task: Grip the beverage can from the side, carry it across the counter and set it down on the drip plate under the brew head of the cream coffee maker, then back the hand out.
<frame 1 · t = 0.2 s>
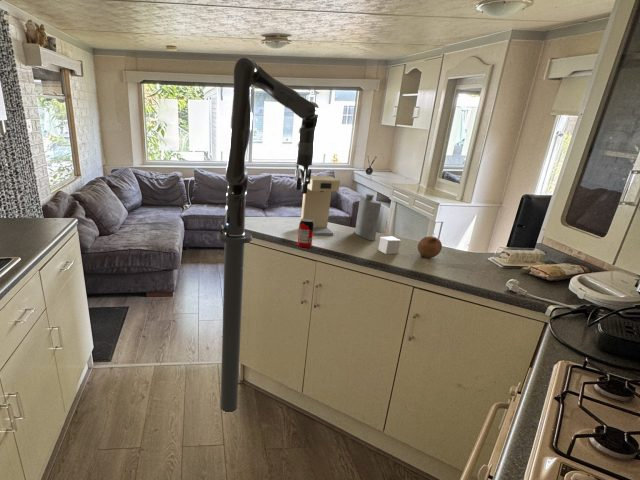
hand: (301, 191, 190), 22 cm above the worktop, tool pointing down, fingers open, 8 cm apart
hip flask: (363, 236, 210), on the worktop
white cube: (387, 252, 187), on the worktop
coffee maker: (316, 231, 214), on the worktop
beverage can: (304, 247, 189), on the worktop
onion: (427, 257, 183), on the worktop
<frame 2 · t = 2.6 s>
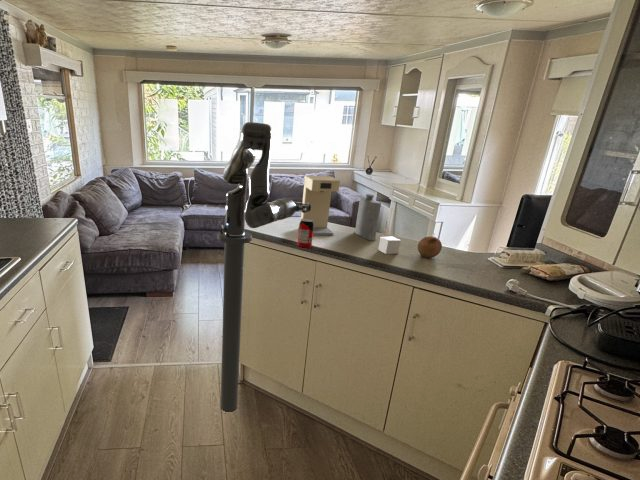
hand: (299, 203, 174), 20 cm above the worktop, tool horizontal, fingers open, 8 cm apart
nothing on the worktop moved.
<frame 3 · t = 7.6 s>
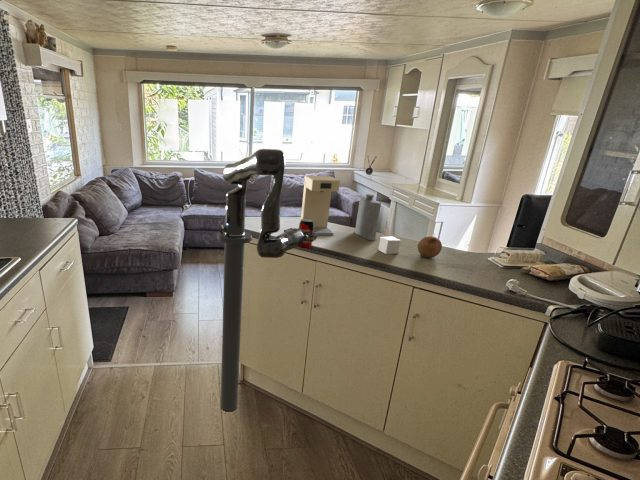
hand: (308, 231, 188), 7 cm above the worktop, tool horizontal, fingers closed on beverage can, 6 cm apart
beverage can: (304, 247, 189), on the worktop, touching gripper
everything else where it was.
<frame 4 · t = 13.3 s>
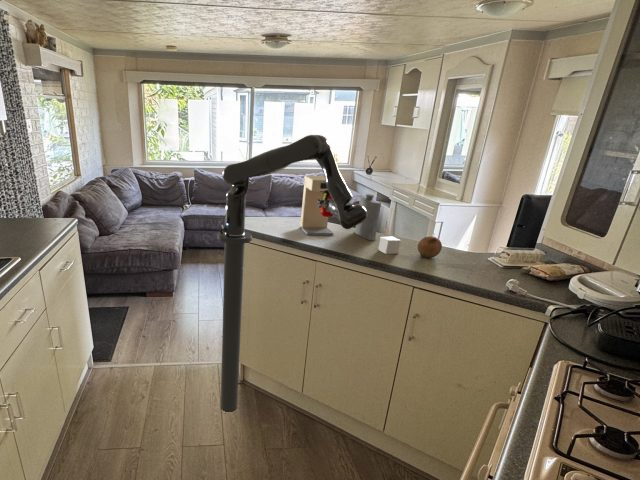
hand: (327, 200, 196), 18 cm above the worktop, tool horizontal, fingers closed on beverage can, 6 cm apart
beverage can: (327, 216, 197), point 11 cm above the worktop, touching gripper
everything else where it was.
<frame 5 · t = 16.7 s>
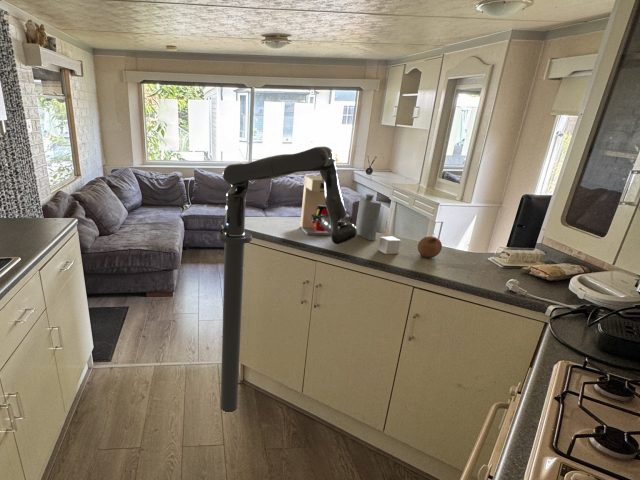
hand: (320, 215, 206), 9 cm above the worktop, tool horizontal, fingers closed on beverage can, 6 cm apart
beverage can: (320, 230, 207), point 2 cm above the worktop, touching gripper
everything else where it was.
when the fingers open (8 cm above the worktop, at t = 19.3 s): beverage can stays where it is, resting on coffee maker.
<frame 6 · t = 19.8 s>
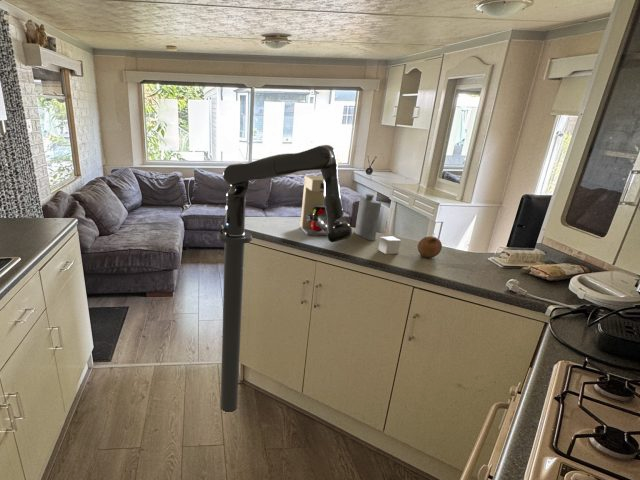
hand: (317, 214, 211), 8 cm above the worktop, tool horizontal, fingers open, 8 cm apart
beverage can: (317, 230, 212), point 1 cm above the worktop, touching coffee maker
everything else where it was.
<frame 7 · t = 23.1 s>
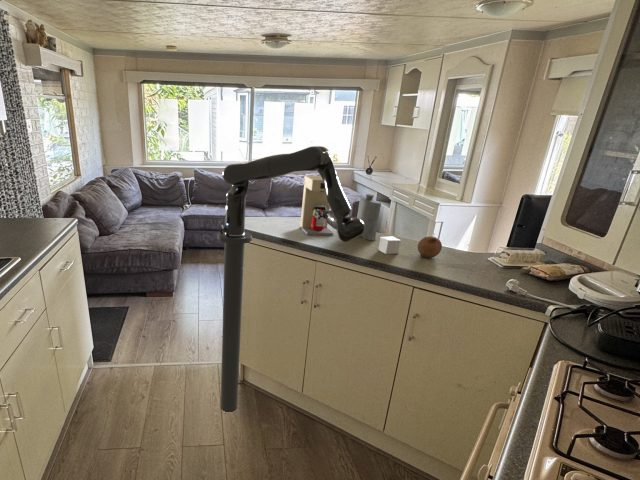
hand: (326, 211, 198), 13 cm above the worktop, tool horizontal, fingers open, 8 cm apart
nothing on the worktop moved.
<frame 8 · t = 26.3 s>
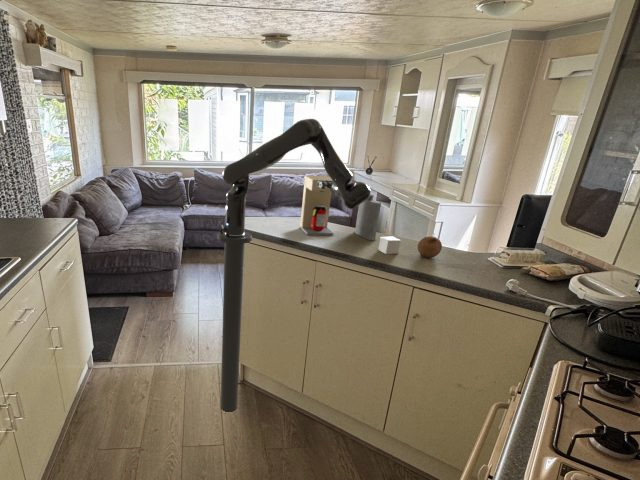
hand: (330, 182, 192), 26 cm above the worktop, tool horizontal, fingers open, 8 cm apart
nothing on the worktop moved.
at the end: beverage can inside the target area on the coffee maker (0.4 cm from its centre), point 1.0 cm above the coffee maker's base; beverage can tilted 0°; the gripper is holding nothing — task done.
